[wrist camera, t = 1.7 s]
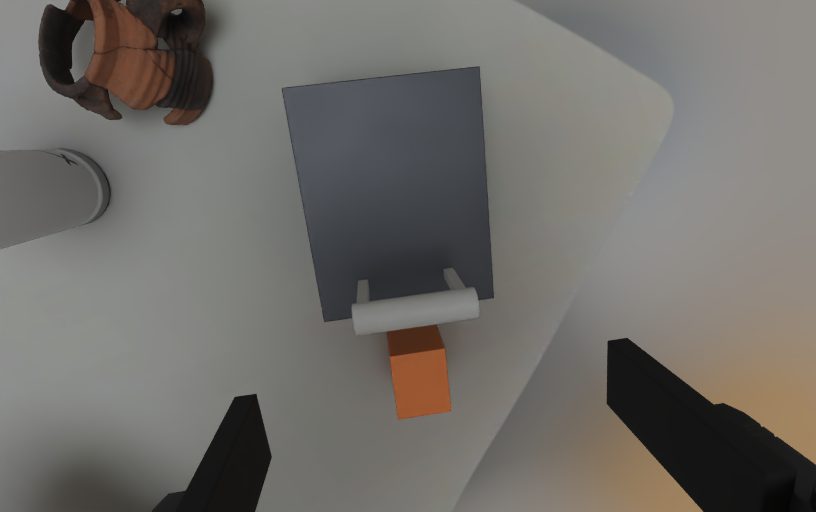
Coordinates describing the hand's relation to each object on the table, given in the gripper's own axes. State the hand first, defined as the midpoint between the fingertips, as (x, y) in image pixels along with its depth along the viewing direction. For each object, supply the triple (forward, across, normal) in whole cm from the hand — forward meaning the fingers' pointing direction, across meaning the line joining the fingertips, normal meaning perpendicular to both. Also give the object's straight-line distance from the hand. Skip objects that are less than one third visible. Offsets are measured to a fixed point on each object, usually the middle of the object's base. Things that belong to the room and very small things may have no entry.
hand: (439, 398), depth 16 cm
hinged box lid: (+15, 0, -5) cm, 16 cm away
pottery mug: (+25, +17, -17) cm, 34 cm away
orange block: (+24, 0, +11) cm, 27 cm away
